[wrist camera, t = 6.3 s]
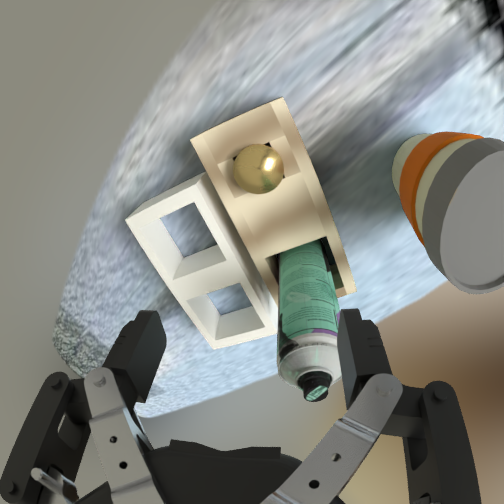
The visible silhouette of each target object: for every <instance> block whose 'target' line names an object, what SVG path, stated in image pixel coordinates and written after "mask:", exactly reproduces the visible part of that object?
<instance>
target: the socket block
mask: <svg viewBox="0 0 504 504" xmlns="http://www.w3.org/2000/svg"><path fill="white" fill-rule="evenodd" d="M190 141H191V143H192V144H193V146H194V148H195V150H196V152H197V154H198V156H199V158H200V160H201V162H202V164H203V166H204V168H205V169H206V171H207V173H208V175H209V177H210V179H211V181H212V183H213V185H214V187H215V189H216V191H217V192H218V194H219V196H220V198H221V200H222V202H223V204H224V206H225V208H226V210H227V212H228V214H229V215H230V217H231V219H232V221H233V223H234V225H235V227H236V229H237V231H238V233H239V235H240V237H241V238H242V240H243V242H244V244H245V246H246V248H247V250H248V252H249V254H250V256H251V258H252V259H253V261H254V263H255V265H256V267H257V269H258V271H259V273H260V275H261V277H262V279H263V280H264V282H265V284H266V286H267V288H268V290H269V292H270V294H271V296H272V298H273V299H274V301H275V303H276V305H277V307H278V287H279V261H278V259H277V257H276V255H275V254H277V253H280V252H283V251H286V250H289V249H291V248H294V247H297V246H300V245H303V244H305V243H308V242H311V241H314V240H317V239H319V238H322V237H325V236H327V239H328V242H329V245H330V247H331V250H332V253H333V256H334V258H335V261H336V263H335V264H333V265H330V270H331V274H332V279H333V283H334V287H335V291H336V296H337V298H339V297H342V296H345V295H348V294H351V293H354V292H357V289H356V286H355V283H354V280H353V276H352V273H351V270H350V267H349V264H348V261H347V258H346V255H345V252H344V249H343V246H342V243H341V240H340V237H339V234H338V231H337V228H336V226H335V223H334V220H333V217H332V214H331V212H330V209H329V206H328V204H327V201H326V198H325V196H324V193H323V190H322V188H321V185H320V183H319V180H318V178H317V175H316V173H315V170H314V168H313V165H312V163H311V160H310V158H309V155H308V153H307V150H306V148H305V146H304V143H303V141H302V139H301V136H300V134H299V132H298V129H297V127H296V125H295V123H294V120H293V118H292V116H291V114H290V112H289V109H288V107H287V105H286V103H285V101H284V99H283V97H281V98H278V99H276V100H273V101H271V102H268V103H266V104H263V105H261V106H259V107H256V108H254V109H252V110H249V111H247V112H245V113H243V114H240V115H238V116H236V117H234V118H232V119H230V120H227V121H225V122H223V123H221V124H219V125H217V126H215V127H213V128H211V129H209V130H207V131H205V132H203V133H201V134H199V135H197V136H195V137H194V138H192V139H190ZM268 142H270V145H271V147H272V148H274V149H275V150H276V151H277V152H278V153H279V155H280V156H281V158H282V160H283V165H284V174H283V178H282V181H281V182H280V184H279V185H278V186H277V187H276V188H275V189H274V190H272V191H271V192H268V193H265V194H252V193H249V192H247V191H245V190H244V189H242V188H241V187H240V186H239V185H238V184H237V182H236V180H235V178H234V175H233V164H234V161H235V159H236V157H237V156H238V154H239V153H240V151H241V150H243V149H244V148H245V147H247V146H249V145H252V144H265V143H268Z"/></svg>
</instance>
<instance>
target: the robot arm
mask: <svg viewBox="0 0 504 504" xmlns="http://www.w3.org/2000/svg"><path fill="white" fill-rule="evenodd" d="M165 348H166V334H165V331H164V328H163V325H162V323H161V320H160V317H159V314H158V312H157V311H151V310H141V311H139V313H138V315H137V317H136V318H135V320H134V321H130V322H129V323H127V324H126V325H125V326H124V327H123V328H122V330H121V332H120V334H119V336H118V337H117V339H116V341H115V344H114V345H113V347H112V348H111V350H110V352H109V354H108V356H107V358H106V360H105V362H104V364H103V365H102V367H100V368H96V369H93V370H92V371H90V372H89V373H88V374H87V376H86V377H85V378H82V379H73V380H70V379H69V377H68V376H67V374H65V373H63V372H55V373H53V374H51V375H50V376H49V377H47V379H46V380H45V382H44V383H43V385H42V387H41V389H40V391H39V393H38V395H37V397H36V399H35V401H34V403H33V405H32V407H31V409H30V411H29V413H28V416H27V418H26V420H25V422H24V424H23V426H22V429H21V431H20V433H19V435H18V437H17V440H16V442H15V445H14V447H13V449H12V452H11V454H10V456H9V459H8V461H7V464H6V466H5V469H4V471H3V474H2V477H1V480H0V494H1V496H2V498H3V499H4V500H5V501H6V502H8V503H10V504H345V503H344V502H343V501H342V500H341V499H340V498H339V497H338V496H339V494H340V493H341V491H342V490H343V489H344V488H345V486H346V485H347V484H348V482H349V481H350V480H351V478H352V477H353V475H354V474H355V473H356V471H357V470H358V468H359V467H360V465H361V464H362V462H363V460H364V459H365V458H366V456H367V455H368V453H369V452H370V450H371V449H372V447H373V446H374V444H375V442H376V441H377V439H378V438H379V436H380V434H385V435H393V436H399V437H402V439H403V446H404V453H405V461H406V470H407V478H408V490H409V501H410V504H481V497H480V491H479V485H478V479H477V474H476V469H475V464H474V459H473V455H472V451H471V446H470V442H469V438H468V434H467V430H466V427H465V423H464V420H463V416H462V413H461V409H460V406H459V403H458V400H457V396H456V393H455V391H454V389H453V388H452V387H451V386H450V385H449V384H448V383H446V382H443V381H433V382H431V383H429V384H428V385H427V386H426V387H425V388H424V389H423V388H415V387H409V386H405V385H403V384H401V382H400V381H399V380H398V379H397V378H396V377H395V376H393V374H392V371H391V368H390V365H389V362H388V359H387V355H386V352H385V349H384V346H383V342H382V339H381V336H380V333H379V330H378V327H377V326H376V325H375V324H374V323H373V322H372V321H371V320H362V318H361V315H360V311H359V309H358V308H357V309H341V311H340V318H339V326H338V333H337V349H338V355H339V361H340V367H341V374H342V380H343V386H344V393H345V400H346V407H347V410H348V411H347V413H346V414H345V415H344V417H343V418H341V419H338V420H337V421H336V422H335V423H334V425H333V426H332V427H331V428H330V430H329V431H328V432H327V434H326V435H325V436H324V438H323V439H322V440H321V441H320V442H319V444H318V445H317V446H316V448H314V450H313V451H312V452H311V453H310V454H309V455H308V457H307V458H306V459H305V460H304V461H303V462H302V461H300V460H298V459H296V458H294V457H291V456H288V455H285V454H281V447H248V448H243V449H236V450H230V451H220V450H216V449H213V448H210V447H207V446H204V445H202V444H198V443H195V442H186V441H179V440H171V441H170V445H169V446H165V447H161V448H158V449H154V448H153V447H152V445H151V443H150V441H149V439H148V437H147V435H146V433H145V431H144V428H143V426H142V424H141V422H140V420H139V417H138V415H137V412H136V410H135V408H134V406H135V403H136V402H140V403H145V402H146V399H147V396H148V394H149V391H150V388H151V385H152V383H153V380H154V377H155V375H156V372H157V369H158V367H159V364H160V361H161V359H162V356H163V353H164V351H165ZM63 415H65V418H64V420H63V423H62V426H61V428H60V430H59V433H58V426H59V424H60V422H61V419H62V417H63ZM91 432H92V435H93V439H94V442H95V445H96V448H97V451H98V454H99V457H100V461H101V464H102V466H103V469H104V472H105V475H106V478H107V480H108V481H107V482H105V483H104V484H102V485H101V486H99V487H98V488H96V489H95V490H93V491H92V492H90V493H89V494H87V495H85V496H84V497H82V498H81V499H79V496H78V494H77V488H76V486H75V484H74V482H75V478H76V475H77V472H78V469H79V466H80V463H81V460H82V456H83V453H84V450H85V447H86V444H87V442H88V439H89V436H90V433H91Z"/></svg>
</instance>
